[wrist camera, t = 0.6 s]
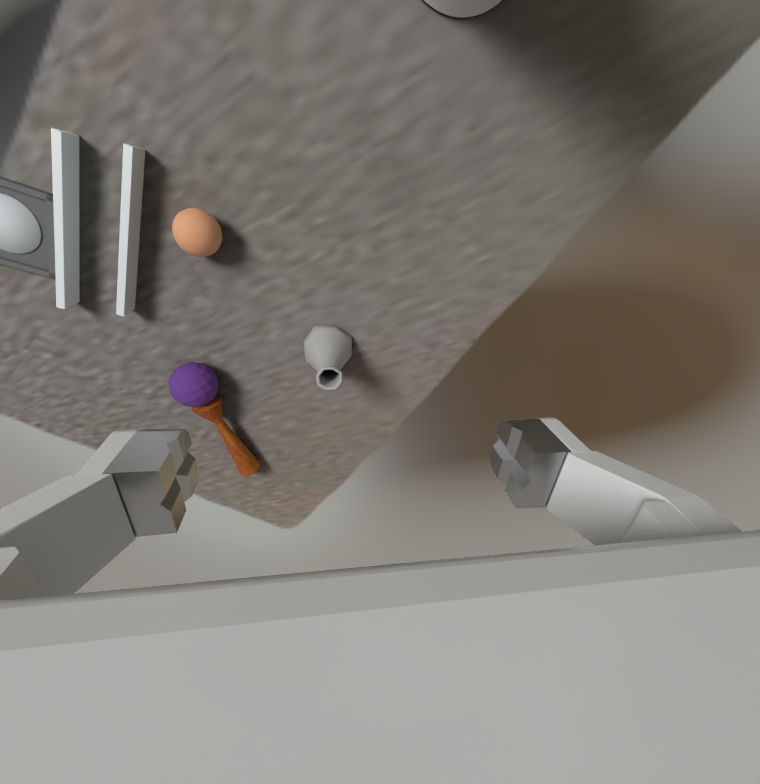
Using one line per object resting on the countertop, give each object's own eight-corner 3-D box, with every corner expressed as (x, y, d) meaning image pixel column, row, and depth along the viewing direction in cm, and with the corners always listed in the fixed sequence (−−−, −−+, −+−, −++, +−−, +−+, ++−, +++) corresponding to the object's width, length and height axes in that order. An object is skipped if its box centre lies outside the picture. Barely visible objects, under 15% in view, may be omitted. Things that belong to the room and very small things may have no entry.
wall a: (136, 146, 38) (123, 143, 35) (145, 149, 38) (132, 146, 36) (127, 307, 45) (116, 314, 43) (134, 309, 46) (123, 316, 43)
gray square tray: (-47, 161, 36) (-56, 160, 36) (58, 196, 39) (52, 196, 38) (-35, 250, 40) (-43, 252, 39) (60, 277, 43) (55, 279, 42)
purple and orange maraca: (227, 485, 57) (150, 383, 45) (239, 457, 61) (172, 359, 50) (262, 480, 56) (192, 374, 44) (272, 452, 60) (211, 350, 49)
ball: (183, 200, 41) (167, 201, 37) (229, 216, 42) (219, 219, 38) (178, 244, 43) (162, 250, 39) (222, 259, 44) (212, 266, 40)
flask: (296, 363, 52) (292, 397, 44) (309, 316, 49) (307, 343, 41) (344, 375, 55) (349, 410, 46) (359, 331, 52) (367, 360, 43)
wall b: (70, 132, 37) (51, 127, 34) (79, 135, 37) (61, 131, 34) (71, 300, 44) (56, 307, 42) (79, 302, 44) (64, 309, 42)
